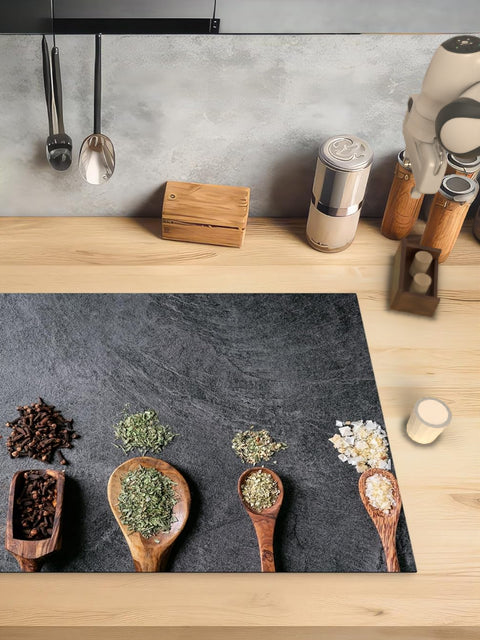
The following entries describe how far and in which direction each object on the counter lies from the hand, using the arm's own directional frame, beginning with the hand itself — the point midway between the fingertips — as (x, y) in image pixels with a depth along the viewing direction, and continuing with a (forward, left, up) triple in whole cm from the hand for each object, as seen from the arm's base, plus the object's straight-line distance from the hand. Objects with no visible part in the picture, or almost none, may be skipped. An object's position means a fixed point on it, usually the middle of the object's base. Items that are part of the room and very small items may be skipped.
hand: (410, 180), depth 147 cm
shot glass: (-31, +31, -25) cm, 50 cm away
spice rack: (-9, 0, -25) cm, 27 cm away
